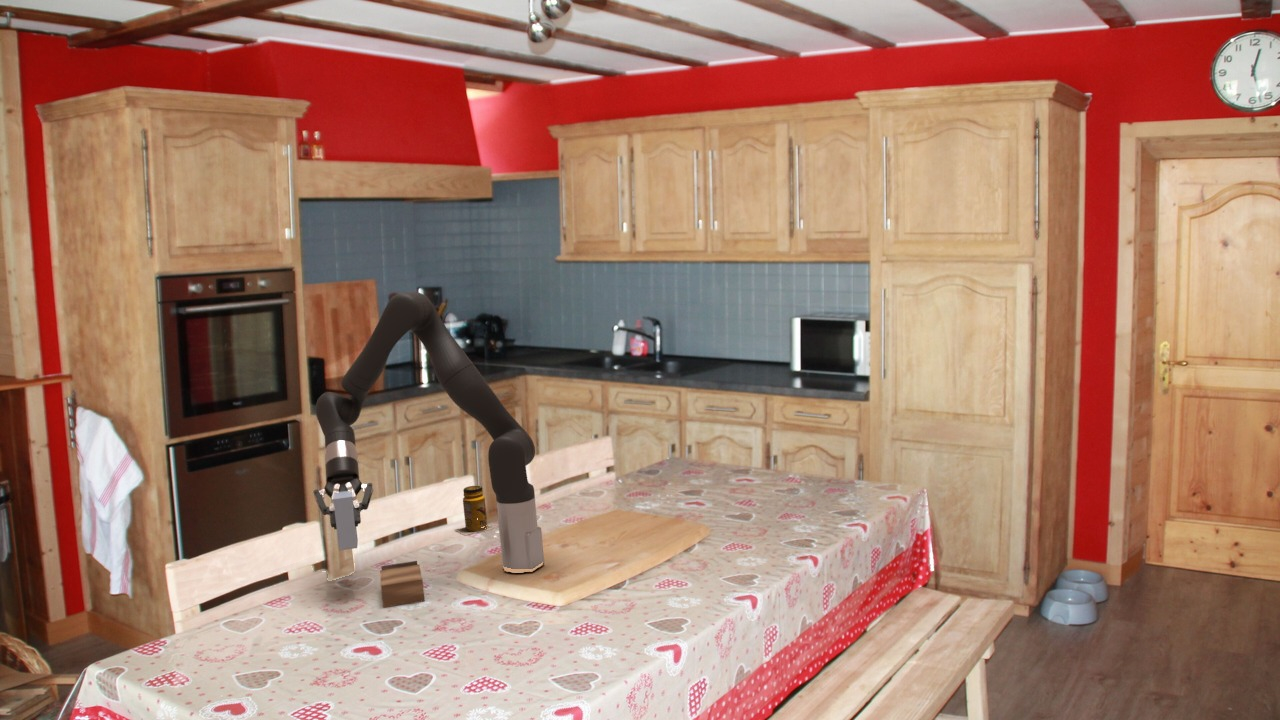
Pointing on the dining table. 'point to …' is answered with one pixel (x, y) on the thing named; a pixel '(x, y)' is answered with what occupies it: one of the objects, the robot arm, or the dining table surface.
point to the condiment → (474, 511)
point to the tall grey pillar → (345, 520)
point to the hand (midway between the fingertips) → (346, 525)
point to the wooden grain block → (401, 584)
